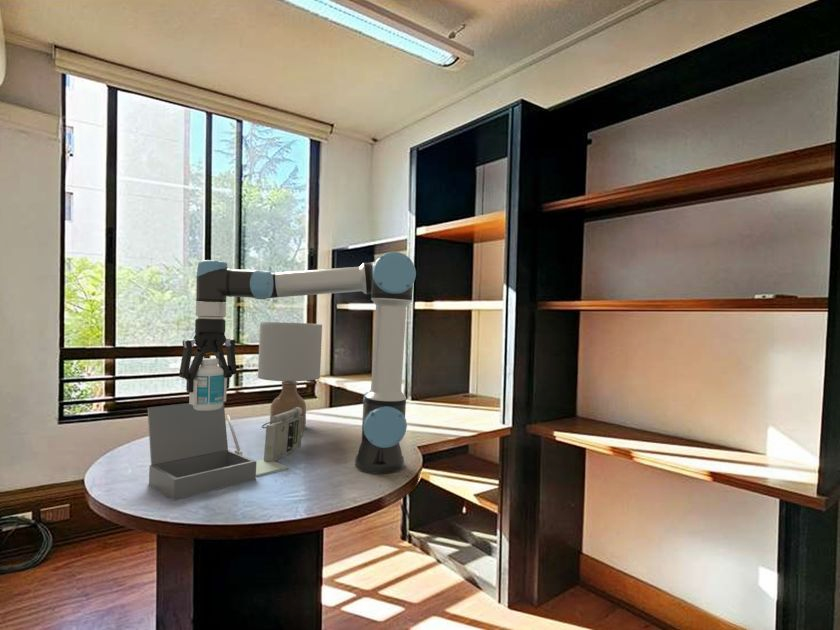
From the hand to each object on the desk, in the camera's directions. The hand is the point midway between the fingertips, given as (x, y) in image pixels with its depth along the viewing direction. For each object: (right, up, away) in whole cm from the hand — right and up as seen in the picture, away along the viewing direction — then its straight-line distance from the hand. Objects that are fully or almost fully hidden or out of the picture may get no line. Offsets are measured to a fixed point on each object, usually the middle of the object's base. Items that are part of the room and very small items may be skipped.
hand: (208, 402), depth 129 cm
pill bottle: (0, -2, 0) cm, 2 cm away
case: (-2, -21, +2) cm, 22 cm away
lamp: (+4, -22, +63) cm, 67 cm away
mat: (+10, -22, +13) cm, 27 cm away
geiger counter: (+13, -22, +29) cm, 39 cm away
